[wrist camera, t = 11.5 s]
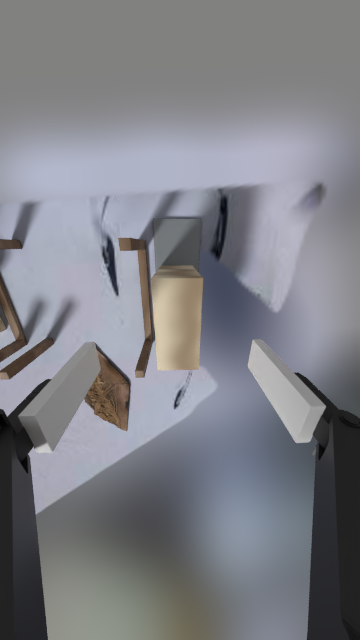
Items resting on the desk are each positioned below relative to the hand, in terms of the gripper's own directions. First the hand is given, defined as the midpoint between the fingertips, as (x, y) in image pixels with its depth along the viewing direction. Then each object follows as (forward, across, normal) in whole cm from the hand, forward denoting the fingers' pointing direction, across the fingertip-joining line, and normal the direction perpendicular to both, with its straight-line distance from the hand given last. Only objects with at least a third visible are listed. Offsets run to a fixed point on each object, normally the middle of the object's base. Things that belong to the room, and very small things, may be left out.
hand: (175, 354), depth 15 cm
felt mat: (+17, +1, 0) cm, 17 cm away
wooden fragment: (+18, -15, -22) cm, 32 cm away
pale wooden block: (+17, 0, 0) cm, 17 cm away
